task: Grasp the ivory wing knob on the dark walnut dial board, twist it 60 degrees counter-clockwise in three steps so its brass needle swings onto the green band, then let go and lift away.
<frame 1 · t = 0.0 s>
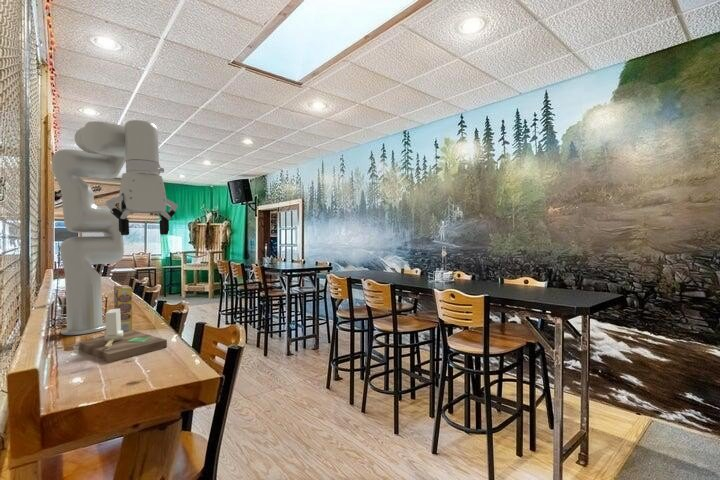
hand: (145, 234, 95), 31 cm above the table, tool pointing down, fingers open, 9 cm apart
dial board: (123, 348, 100), on the table
candy box: (124, 334, 116), on the table
knob: (111, 327, 98), point 6 cm above the table, hinge at 0.0°
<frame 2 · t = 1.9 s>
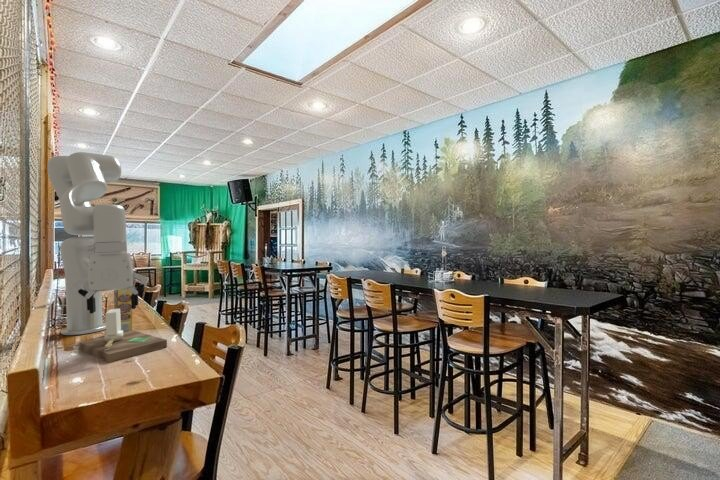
hand: (113, 310, 101), 10 cm above the table, tool pointing down, fingers open, 9 cm apart
nothing on the table moved.
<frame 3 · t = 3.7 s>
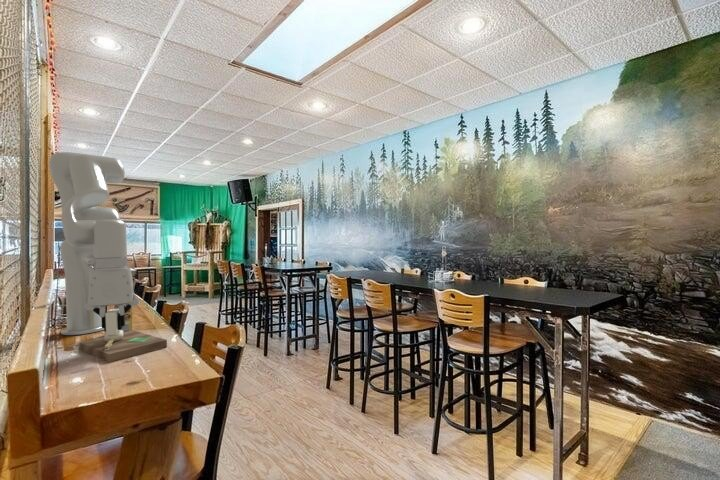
hand: (113, 329, 101), 5 cm above the table, tool pointing down, fingers closed on knob, 2 cm apart
knob: (111, 327, 98), point 6 cm above the table, hinge at 0.0°, touching gripper
everything else where it was.
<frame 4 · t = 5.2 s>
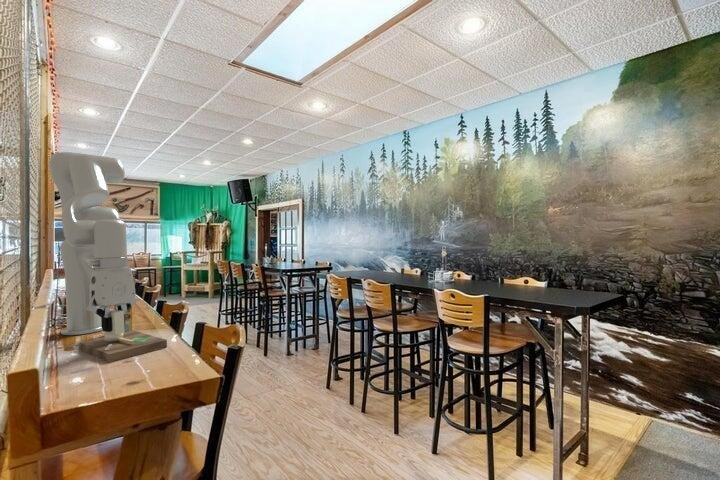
hand: (113, 329, 101), 5 cm above the table, tool pointing down, fingers closed on knob, 2 cm apart
knob: (119, 326, 99), point 6 cm above the table, hinge at 35.5°, touching gripper
everything else where it was.
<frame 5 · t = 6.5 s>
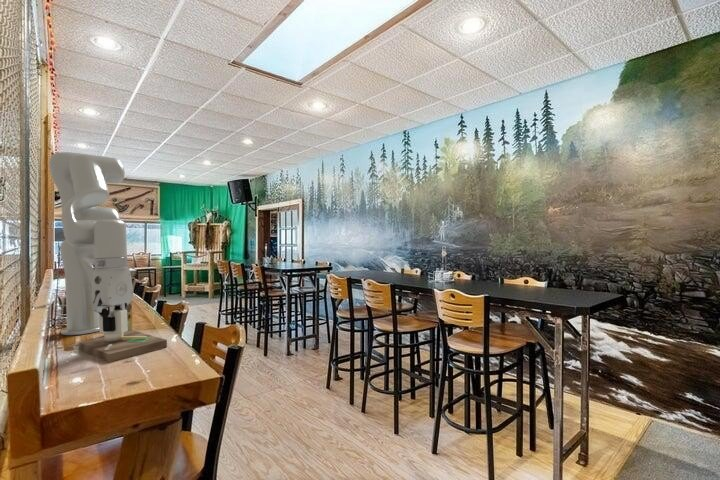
hand: (113, 329, 101), 5 cm above the table, tool pointing down, fingers closed on knob, 2 cm apart
knob: (124, 324, 101), point 6 cm above the table, hinge at 61.1°, touching gripper
everything else where it was.
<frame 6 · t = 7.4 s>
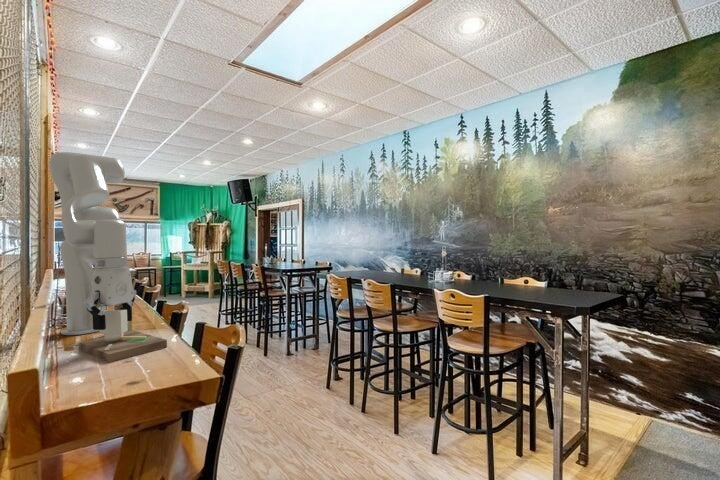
hand: (113, 325, 101), 6 cm above the table, tool pointing down, fingers open, 9 cm apart
knob: (124, 324, 101), point 6 cm above the table, hinge at 60.4°
everything else where it was.
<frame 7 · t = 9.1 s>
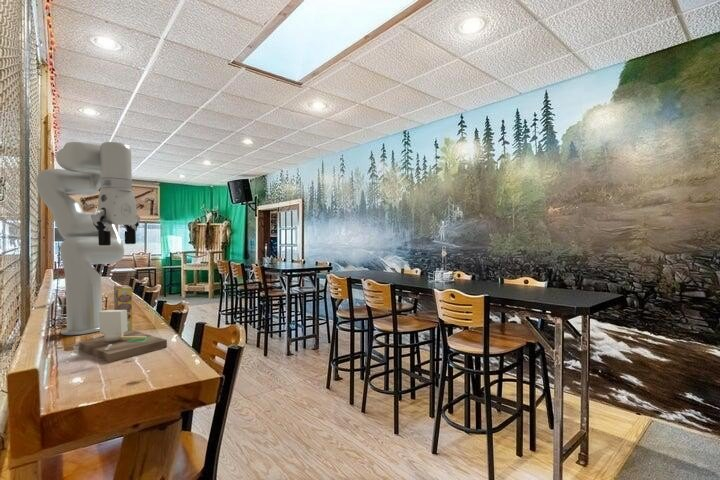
hand: (118, 244, 106), 29 cm above the table, tool pointing down, fingers open, 9 cm apart
knob: (124, 325, 101), point 6 cm above the table, hinge at 60.0°
everything else where it was.
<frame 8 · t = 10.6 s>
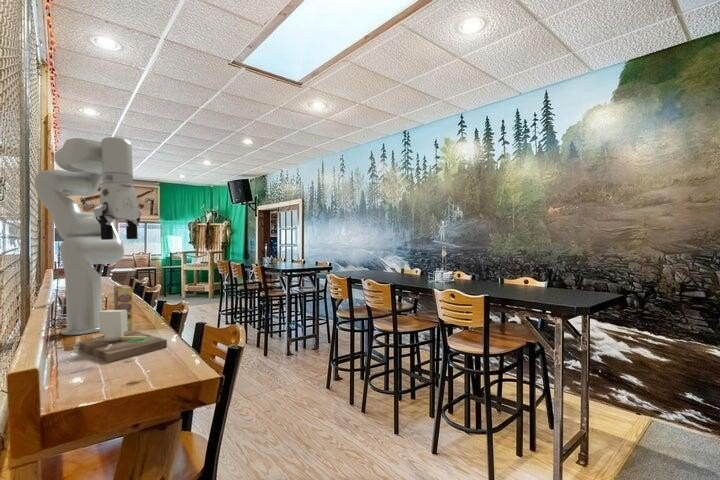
hand: (120, 239, 106), 30 cm above the table, tool pointing down, fingers open, 9 cm apart
nothing on the table moved.
at the end: knob at +60° (first picture: +0°); the gripper is holding nothing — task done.
